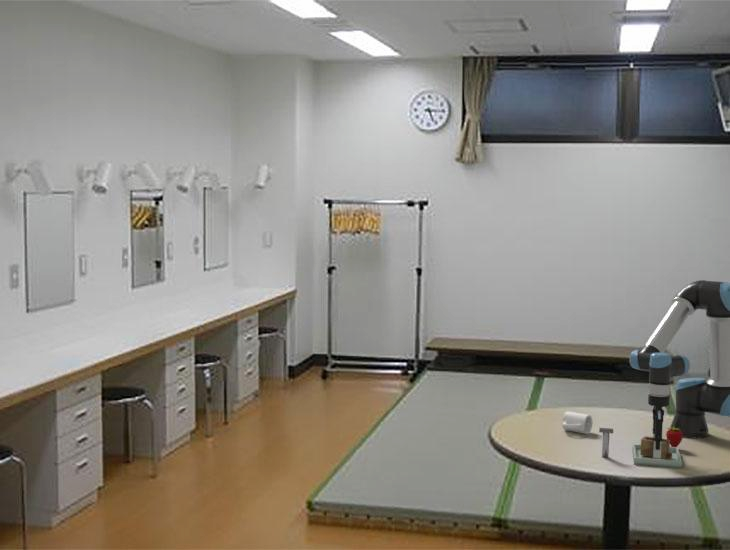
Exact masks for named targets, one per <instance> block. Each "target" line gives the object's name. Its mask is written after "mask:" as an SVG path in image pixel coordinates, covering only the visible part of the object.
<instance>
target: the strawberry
mask: <svg viewBox="0 0 730 550" xmlns="http://www.w3.org/2000/svg"><path fill="white" fill-rule="evenodd" d="M673 425H674V424H673ZM666 429H667V431H666V434H665V436H666V439H667V440H670V447H677V448H678V446H679V445H680V444H681V442H682V440H683V438H684V437H683V435H682V433H681V431H679V430H680V428H675V426H674V427H673V428H670V427H667V428H666Z"/></svg>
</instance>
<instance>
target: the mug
mask: <svg viewBox="0 0 730 550" xmlns="http://www.w3.org/2000/svg"><path fill="white" fill-rule="evenodd" d="M593 421H594V420H593V418H592V415H591V414H586V413H582V412H581V413H580V412H574V411H565V412H564V414H563V417H562V421H561V424H562V428H563V430H564V431H568V432H573V433H576V434H577V433H578V434H583V435H588V434H590V433H591V431H592V429H593Z"/></svg>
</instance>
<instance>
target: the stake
mask: <svg viewBox="0 0 730 550" xmlns="http://www.w3.org/2000/svg"><path fill="white" fill-rule="evenodd" d="M598 429H599V431H598V432H599V433H602V444H601V445H602V449H601V458H604V459H608V458H609V457H610V455H609V454H610V434H614V428H609V427H599V428H598Z"/></svg>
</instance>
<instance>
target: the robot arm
mask: <svg viewBox="0 0 730 550" xmlns="http://www.w3.org/2000/svg"><path fill="white" fill-rule="evenodd" d="M697 310H705V316H706V318H707V319H709V331H710V332H709V335H710V338H709V339H710V341H709V345H710V346H709V347H710V348H709V350H710V351H709V352H710V354H709V356H710V359H709V362H710V364H709V365H710V367H709V370H710V373H709V375H710V377H709V378H708V379H706V378H705V377H704V378H703V377H688V378H687V377H686V378H680V379H678V380H677V381H676V388H675V409H674V416H673V418H672V422H671V423H670V426H669V428H673V427H674V426H675V428H680V430H679V431H681V433H682V435H683V438H690V437H696V438H695V439H699V438H698V437H702V438H707V437H708V436H709V426H708V422H707V420H706V413H710V414H713V415H719V416H721V417H730V282H727V281H712V280H703V279H702V280H696V281H693V282H690V283H688V284H687V285H685V286H684V287H683V288H682V289H681V290H679V291H678V292H677V293H676V294H675V296H674V297H673V298H672V300H671V306H670V307H669V308H668V311H667V312H666V313H665V315H664V316H663V318H662V319H661V321H660V322H659V324H658V325H657V327H656V328H655V329H654V330H653V332H652V334H651V335H650V337H649V338H648V340H647V341H646V343H645V344H644V346H643V347H642V348H641V350H640V349H634V350H632V351H631V352H630V355H629V358H628V359H629V360H628V361H629V364H630V367H631V368H632V369H635V370H639V371H644V372H649V373H648V374H649V375H648V376H649V379H648V384H647V386H646V387H647V388H648V393H649V394H648V395H647V396H648V398H647V404H648V405H649V406H651V407H653V408H652V410H651V411H652V420H653V421H652V429H651V430H652V437H655V438H654V439H652V441H654V450H653V458H661V445H662V439H663V423H664V416H665V411H664V409H663V408H665V407H669V406H670V394H671V378H673V377H678V376H679V377H680V376H682V375H686V374H687V373H688V372H689V371H690V369H691V363H690V360H689V359H688V357H687V356H685V355H682V354H680V355H679V354H675V355H673V354H672V355H671V354H669V353H668V352H665V351H666V350H667V348H668V347H669V345H670V344H671V342H672V341H673V340H674V338H675V336H676V335H677V333H678V332H679V330H680V329H681V328H682V326H683V324H684V323H685V321H686V320H687V319H688V317H689V316H692V315H693V314H694V313H695V311H697ZM673 424H674V425H673Z"/></svg>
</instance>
